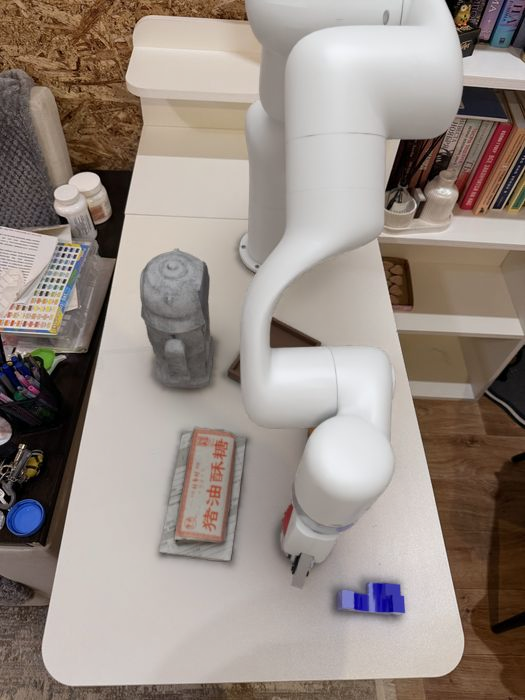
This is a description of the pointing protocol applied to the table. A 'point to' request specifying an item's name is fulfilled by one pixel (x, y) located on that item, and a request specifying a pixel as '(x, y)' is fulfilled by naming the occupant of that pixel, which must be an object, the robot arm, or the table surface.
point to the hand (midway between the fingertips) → (308, 530)
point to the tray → (278, 343)
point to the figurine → (178, 318)
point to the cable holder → (373, 599)
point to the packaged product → (204, 495)
